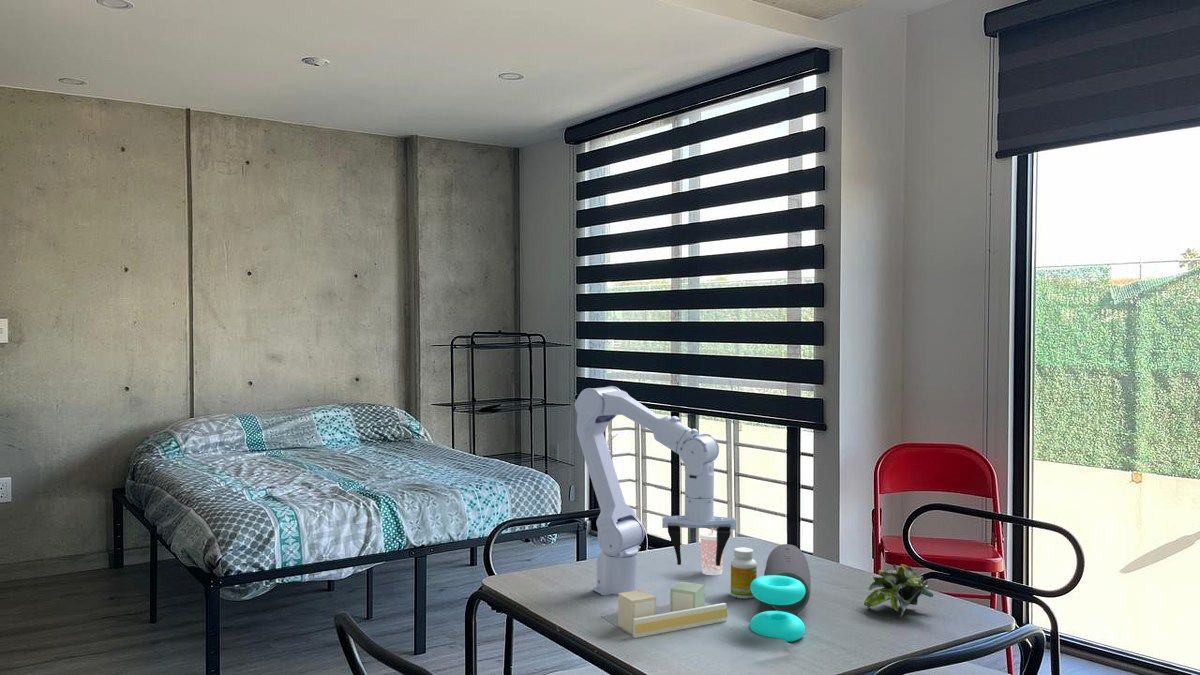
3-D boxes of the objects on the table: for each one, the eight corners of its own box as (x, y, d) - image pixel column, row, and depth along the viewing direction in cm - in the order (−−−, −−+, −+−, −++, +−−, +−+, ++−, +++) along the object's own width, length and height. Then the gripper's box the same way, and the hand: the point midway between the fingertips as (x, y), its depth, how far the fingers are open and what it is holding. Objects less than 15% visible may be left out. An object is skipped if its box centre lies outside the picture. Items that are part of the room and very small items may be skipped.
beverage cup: (727, 576, 199) (727, 515, 199) (700, 576, 199) (700, 514, 199) (723, 569, 205) (724, 509, 205) (697, 568, 205) (697, 509, 205)
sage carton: (679, 612, 170) (680, 581, 170) (704, 616, 168) (704, 585, 168) (670, 620, 166) (670, 588, 166) (694, 624, 164) (695, 592, 164)
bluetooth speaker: (764, 585, 193) (765, 540, 193) (808, 588, 191) (808, 542, 191) (762, 619, 171) (763, 567, 170) (811, 622, 169) (812, 571, 169)
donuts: (769, 570, 169) (815, 580, 162) (768, 622, 169) (815, 634, 162) (739, 581, 161) (787, 592, 155) (739, 635, 162) (786, 649, 155)
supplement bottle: (756, 600, 182) (756, 553, 182) (729, 598, 183) (730, 551, 183) (756, 592, 188) (757, 547, 187) (731, 590, 189) (731, 545, 189)
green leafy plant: (902, 633, 179) (937, 586, 179) (907, 641, 168) (944, 591, 168) (855, 597, 182) (889, 550, 182) (857, 603, 171) (894, 553, 171)
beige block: (618, 625, 163) (618, 593, 163) (641, 621, 165) (641, 589, 165) (632, 634, 158) (632, 601, 158) (655, 629, 160) (656, 597, 160)
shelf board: (600, 622, 168) (600, 599, 168) (688, 607, 177) (688, 585, 177) (635, 645, 156) (635, 620, 156) (727, 627, 165) (727, 604, 165)
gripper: (734, 493, 178) (733, 559, 178) (662, 491, 179) (661, 557, 179) (737, 500, 171) (736, 569, 171) (662, 498, 172) (662, 567, 172)
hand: (698, 564), depth 175 cm, fingers open, 7 cm apart
